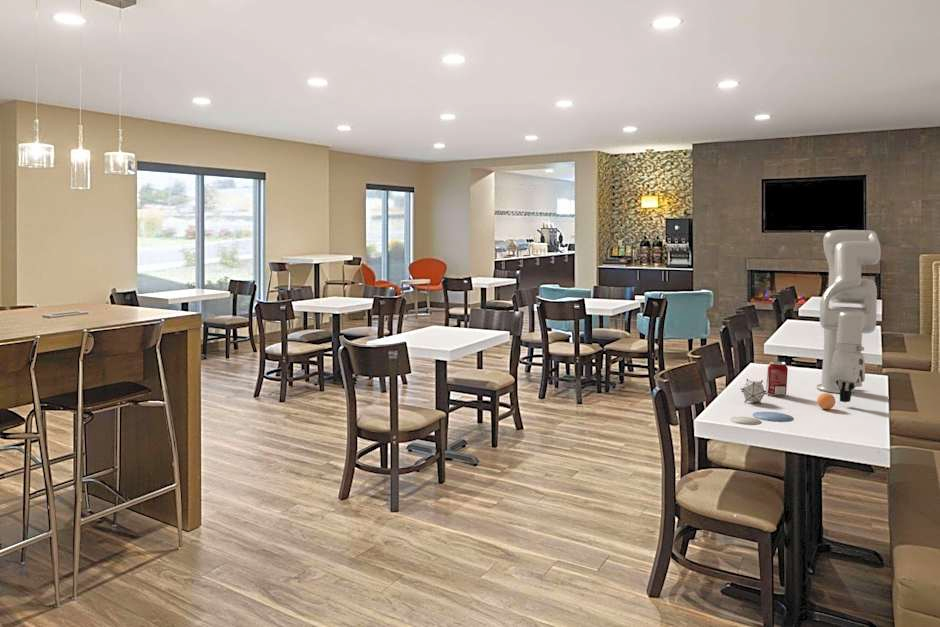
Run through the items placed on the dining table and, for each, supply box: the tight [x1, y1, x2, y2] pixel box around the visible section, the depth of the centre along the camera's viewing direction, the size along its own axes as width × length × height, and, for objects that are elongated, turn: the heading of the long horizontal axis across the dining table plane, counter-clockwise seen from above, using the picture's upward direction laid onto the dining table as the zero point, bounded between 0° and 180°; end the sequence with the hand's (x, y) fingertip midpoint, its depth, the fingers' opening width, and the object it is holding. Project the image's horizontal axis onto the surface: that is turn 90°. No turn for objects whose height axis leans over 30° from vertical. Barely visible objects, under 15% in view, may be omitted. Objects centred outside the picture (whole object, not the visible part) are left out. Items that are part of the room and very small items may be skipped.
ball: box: [816, 392, 836, 410], centre depth 241 cm, size 6×6×6 cm
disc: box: [752, 411, 794, 423], centre depth 230 cm, size 12×12×1 cm
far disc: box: [730, 416, 762, 426], centre depth 225 cm, size 9×9×1 cm
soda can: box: [765, 360, 789, 397], centre depth 261 cm, size 7×7×12 cm
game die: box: [740, 378, 768, 405], centre depth 249 cm, size 9×8×10 cm
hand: (844, 401), depth 245 cm, fingers closed
